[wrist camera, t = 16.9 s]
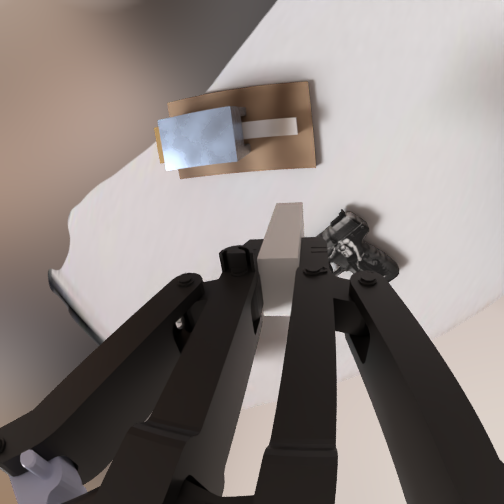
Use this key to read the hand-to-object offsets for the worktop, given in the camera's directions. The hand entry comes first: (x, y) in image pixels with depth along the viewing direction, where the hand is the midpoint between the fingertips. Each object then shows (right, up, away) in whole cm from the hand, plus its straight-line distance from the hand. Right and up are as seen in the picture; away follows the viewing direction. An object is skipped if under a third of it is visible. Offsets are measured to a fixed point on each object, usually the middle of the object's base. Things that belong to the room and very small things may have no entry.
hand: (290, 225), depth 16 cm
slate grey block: (-7, +15, +21) cm, 26 cm away
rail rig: (-4, +15, +21) cm, 26 cm away
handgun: (+10, -4, +29) cm, 31 cm away
